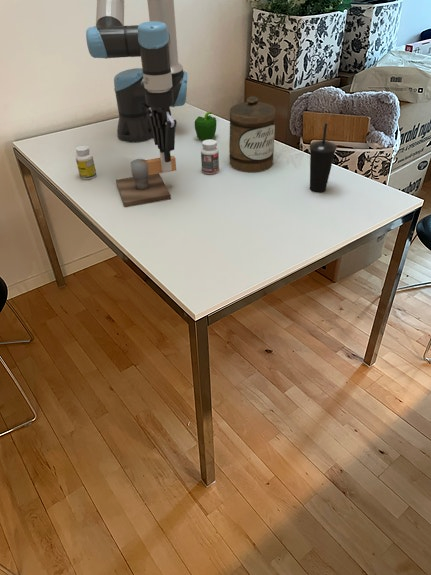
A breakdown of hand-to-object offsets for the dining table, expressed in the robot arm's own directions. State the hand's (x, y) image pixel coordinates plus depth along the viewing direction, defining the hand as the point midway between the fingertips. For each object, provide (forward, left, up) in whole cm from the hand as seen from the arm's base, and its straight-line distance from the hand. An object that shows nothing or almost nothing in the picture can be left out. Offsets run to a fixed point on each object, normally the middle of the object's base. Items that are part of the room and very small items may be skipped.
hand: (166, 170), depth 137 cm
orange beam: (-2, -3, -1) cm, 4 cm away
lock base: (-2, -8, -7) cm, 10 cm away
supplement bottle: (-19, -23, -7) cm, 31 cm away
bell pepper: (-35, +23, -7) cm, 43 cm away
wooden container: (-9, +31, -7) cm, 33 cm away
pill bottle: (-8, +16, -7) cm, 20 cm away
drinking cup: (+16, +43, -7) cm, 47 cm away
